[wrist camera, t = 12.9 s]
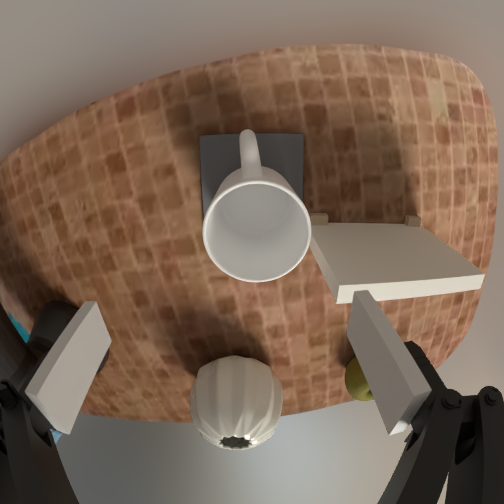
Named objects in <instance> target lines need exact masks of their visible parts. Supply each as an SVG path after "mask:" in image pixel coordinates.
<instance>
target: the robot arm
mask: <svg viewBox="0 0 504 504" xmlns="http://www.w3.org/2000/svg"><path fill="white" fill-rule="evenodd" d="M346 335H347V337H348V339H349V341H350V343H351V346H352V348H353V350H354V352H355V355H356V357H357V359H358V362H359V364H360V366H361V368H362V371H363V373H364V375H365V378H366V380H367V382H368V385H369V387H370V390H371V392H372V394H373V397H374V399H375V402H376V404H377V407H378V409H379V412H380V414H381V417H382V419H383V422H384V424H385V427H386V430H387V432H388V435H392V434H396V433H399V432H402V431H405V430H406V428H407V427H408V425H409V424H410V423H411V425H412V428H413V430H412V431H411V433H410V434H409V435H408V437H407V438H406V439H405V441H404V442H407V444H406V446H405V449H404V451H403V454H402V456H401V458H400V460H399V463H398V465H397V467H396V469H395V471H394V473H393V475H392V477H391V479H390V481H389V483H388V485H387V487H386V489H385V491H384V493H383V495H382V496H381V498H380V500H379V502H378V504H437V502H438V499H439V497H440V494H441V492H442V489H443V486H444V483H445V481H446V477H447V475H448V484H447V491H446V499H445V504H504V401H503V397H502V394H501V392H500V391H499V390H498V389H497V388H495V387H493V386H486V387H484V388H482V389H481V390H480V392H479V393H478V395H471V396H462V395H460V393H458V392H457V391H455V390H453V389H447V388H446V387H445V385H444V383H443V382H442V380H441V379H440V377H439V375H438V374H437V372H436V370H435V369H434V367H433V366H432V364H430V361H429V360H428V358H427V357H426V355H425V353H424V352H423V350H422V349H421V347H419V346H418V345H417V344H415V343H414V342H413V341H409V342H404V343H403V341H402V340H401V338H400V337H399V335H398V334H397V332H396V331H395V329H394V328H393V326H392V324H391V323H390V321H389V320H388V318H387V317H386V315H385V314H384V312H383V311H382V310H381V308H380V307H379V305H378V304H377V302H376V301H375V299H374V298H373V296H372V295H371V294H370V292H369V291H368V290H361V291H354V294H353V300H352V306H351V312H350V317H349V322H348V327H347V332H346ZM111 342H112V341H111V338H110V336H109V333H108V331H107V329H106V326H105V323H104V321H103V318H102V316H101V313H100V310H99V308H98V305H97V302H94V301H85V302H84V303H83V305H82V306H81V307H80V309H79V310H78V309H77V308H75V307H73V306H71V305H69V304H66V303H63V302H58V301H52V302H49V303H47V304H45V305H44V306H43V307H42V309H41V310H40V311H39V312H38V314H37V315H36V318H35V323H34V325H33V328H32V331H31V334H30V336H29V339H28V342H27V343H25V341H24V340H23V338H22V337H21V335H20V334H19V332H18V331H17V329H16V328H15V326H14V325H13V323H12V322H11V320H10V318H9V317H8V315H7V313H6V312H5V310H4V308H3V306H2V305H1V303H0V504H79V502H78V500H77V498H76V496H75V494H74V492H73V489H72V487H71V485H70V482H69V480H68V478H67V475H66V473H65V470H64V467H63V465H62V462H61V460H60V457H59V454H58V451H57V448H56V445H55V444H56V442H57V441H58V439H59V437H60V436H61V435H62V432H63V433H66V434H70V432H71V430H72V427H73V425H74V422H75V420H76V417H77V415H78V412H79V410H80V408H81V405H82V403H83V401H84V398H85V396H86V394H87V392H88V390H89V387H90V385H91V383H92V381H93V379H94V376H95V374H97V373H99V372H100V371H101V370H102V369H103V367H104V365H105V363H106V361H107V359H108V357H109V346H110V344H111ZM448 472H449V473H448Z"/></svg>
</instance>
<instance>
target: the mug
mask: <svg viewBox="0 0 504 504" xmlns="http://www.w3.org/2000/svg"><path fill="white" fill-rule="evenodd" d="M240 156H241V168H240V169H237V170H236V171H234V172H232V173H231V174H230V175H228V176H227V177H226V178H225V179H224V181H223V182H222V184H221V185H220V187H219V189H218V191H217V193H216V194H215V196H214V198H213V200H212V202H211V204H210V206H209V208H208V210H207V212H206V214H205V217H204V221H203V229H202V234H203V241H204V245H205V248H206V251H207V253H208V255H209V256H210V258H211V259H212V261H213V262H214V263H215V264H216V265H217V267H218V268H220V269H221V270H222V271H223V272H225V273H226V274H228V275H230V276H232V277H234V278H236V279H239V280H243V281H248V282H265V281H270V280H274V279H277V278H279V277H281V276H283V275H285V274H287V273H288V272H290V271H291V270H292V269H294V268H295V267H296V266H297V265H298V264H299V262H300V261H301V260H302V258H303V257H304V256H305V254H306V252H307V250H308V247H309V244H310V239H311V221H310V217H309V214H308V211H307V209H306V207H305V206H304V204H303V202H302V201H301V200H300V198H299V197H298V196H297V194H296V193H295V191H294V190H293V189H292V187H291V186H290V185H289V183H288V182H287V181H286V179H285V178H284V177H283V176H282V175H280V174H279V173H278V172H276V171H274V170H273V169H270V168H268V167H264V166H261V162H260V156H259V150H258V145H257V140H256V136H255V133H254V132H253V131H252V130H249V129H246V130H243V131H242V132H241V134H240Z"/></svg>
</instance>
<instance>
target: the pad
mask: <svg viewBox="0 0 504 504" xmlns="http://www.w3.org/2000/svg"><path fill="white" fill-rule="evenodd" d="M255 136H256V140H257V145H258V150H259V156H260V162H261V166H264V167H268V168H270V169H273V170H274V171H276V172H278V173H279V174H280V175H282V176H283V177H284V178H285V179H286V181H287V182H288V183H289V185H290V186H291V187H292V189H293V190H294V191H295V193H296V194H297V196H298V197H299V198H300V200H301V201H303V166H304V134H286V133H255ZM199 139H200V162H201V181H202V197H203V212H204V217H205V214H206V212H207V210H208V208H209V206H210V204H211V202H212V200H213V198H214V196H215V194H216V193H217V191H218V189H219V187H220V185H221V184H222V182H223V181H224V179H225V178H226V177H227V176H228V175H230V174H231V173H232V172H234V171H236V170H237V169H240V168H241V156H240V134H218V135H201V136H199Z"/></svg>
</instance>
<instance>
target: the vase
mask: <svg viewBox="0 0 504 504" xmlns="http://www.w3.org/2000/svg"><path fill="white" fill-rule="evenodd" d="M282 402H283V390H282V385H281V382H280V380H279V379H278V378H277V377H276V376H275V375H274V374H273V373H272V371H271V368H270V367H269V366H267V365H266V364H264V363H262V362H260V361H258V360H256V359H253V358H244V357H241V356H237V355H232V356H228V357H224V358H220V359H216V360H214V361H212V362H210V363H208V364H206V365H204V366H202V367H200V369H199V371H198V374H197V379H196V380H195V381H194V382H193V385H192V387H191V392H190V413H191V419H192V421H193V423H194V426H195V427H196V428H197V429H198V430H199V431H200V434H201V435H202V436H203V437H204V438H205V439H206V440H208V441H210V442H211V443H212V444H214V445H216V446H218V447H221V448H226V449H229V450H245V449H248V448H253V447H255V446H257V445H259V444H261V443H262V442H264V441H265V440H267V439H269V438H270V437H271V436H273V434H274V432H275V430H276V426H277V423H278V421H279V418H280V414H281V409H282Z"/></svg>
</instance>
